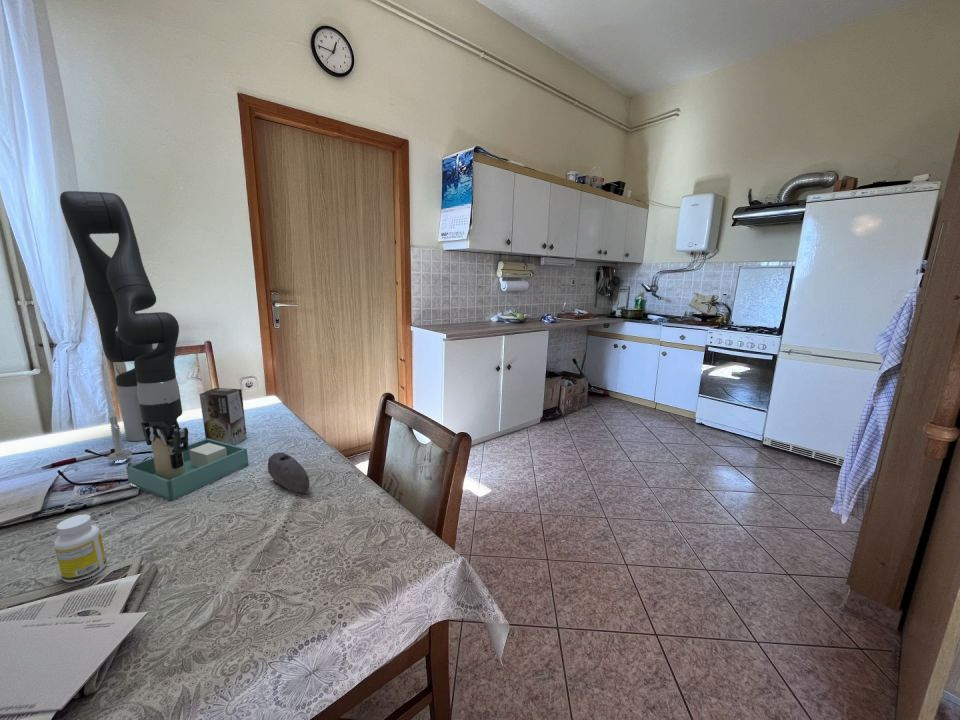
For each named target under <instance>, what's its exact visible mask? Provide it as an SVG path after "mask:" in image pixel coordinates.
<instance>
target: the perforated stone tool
mask: <svg viewBox="0 0 960 720" xmlns="http://www.w3.org/2000/svg"><path fill="white" fill-rule="evenodd" d="M267 471H268V474H269V476H270V477H271V478H272V479H273V480H274V481H275V482H276V483H277V484H279V485H281V486H283V487H284V488H286V489H288V490H290V491H292V492H296V493H300V494H302V493H306V492H307V491H309V488H310V478H309V476H308V475H309V474H308V473H307V471H306V469H305V468H304V466H302V464H301V463H300V462H298V461H297V459H295V457H293V456H291V455H289V454H287V453H286V452H285V453H284V452H276V453H273V454H272V455H270V457H268V461H267Z"/></svg>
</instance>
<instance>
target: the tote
mask: <svg viewBox="0 0 960 720" xmlns="http://www.w3.org/2000/svg"><path fill="white" fill-rule="evenodd" d="M207 443H211V444H215V445H219V446H222V447H226V451H227V456H226V457H223V458H221V459H219V460H216V461H214V462H211V463H209V464H207V465H204V466H202V467H199V468H197V467H194V466H191V459H190V452H189V450H190V449H193V448H196V447H199V446H201V445H204V444H207ZM183 458H184V465H185V472H184V473H183V474H182V475H180V476H177V477H174V478H171V479H165V478H162V477H159V476H156V470H155V464H154V457H153V456H152V457H151V458H148V459H146V460H143V461H142V460H141V461H139V462H137V463H134V464H131V465H129V466H126V468H125V469H126V475H127V481H128V484H129V483H132V484H134V485H136V486H137V487H139V489H138V490H139V491H142V492H145V493H148V494H151V495H154V496H156V497H159V498H161V499H164V500H167V501H168V502H173V501H175V500H176V499H179V498H181V497H183V496H185V495H187V494H189V493H191V492H193V491H196V490H199V489H201V488H203V487H205V486H206V485H209V484H211V483H213V482H216V481H218V480H220V479H222V478H224V477H226V476H228V475H231V474H233V473H236V472H237V471H239V470H242V469H244V468H246V467H248V466H249V457H248V448H245V447H242V446H241V447H240V446H238V445H231V444H227V443H223V442H220V441H216V440H212V439H208V438H207V439H206V438H204V439H201V440H199V441H195V442H193V443H190V444H188V450H186V451H183Z"/></svg>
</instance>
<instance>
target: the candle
mask: <svg viewBox="0 0 960 720" xmlns="http://www.w3.org/2000/svg"><path fill="white" fill-rule="evenodd" d="M168 441H169V442H171V441H174V439H171V440H168ZM151 445H152V447H151V450H152V455H153V456H152V458H153V457H154V464H155V470H156V476H159V477H162V478H165V479H171V478H174V477H177V476H180V475H182V474H183V473H184V472H185V465H184V458H183V466H182V467H179V468H177V469H173V468H172V466H171V459H170V452H169V450H168V447H167V446H164V444H163V442H162V439H159V438H157V439H156V440H155V441H154V442H153V443H152V444H151ZM151 445H150V446H151ZM172 446H173V449H174V444H172ZM182 457H183V452H182Z"/></svg>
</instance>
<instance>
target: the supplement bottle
mask: <svg viewBox="0 0 960 720" xmlns="http://www.w3.org/2000/svg"><path fill="white" fill-rule="evenodd" d="M56 532H57V535H58V537H56V539H55V540H54V542H53V546H54V550H55V551H54V552H55V554H56V558H57V563H58V567H59V571H60V574H61V577H62V580H63V581H64V582H66V583H75V582H74V581H78V580H82V579H85V578H88V577H90V578H92V577H95V576H96V575H97V574H99V573H100V572H101V571H103V569H105V568H106V565H107V557H106V552H105V548H104V543H103V539H102V534H101V531H100V528H99V526H97V525H94V524H93V522H92V516H91V515H89V514H77V515H75V516H71V517H69V518H66V519H64V520H62V521H61V522H59V523H58V524H57V525H56ZM91 576H92V577H91ZM88 579H89V578H88ZM85 580H86V579H85ZM82 581H83V580H82ZM78 582H79V581H78Z"/></svg>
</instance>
